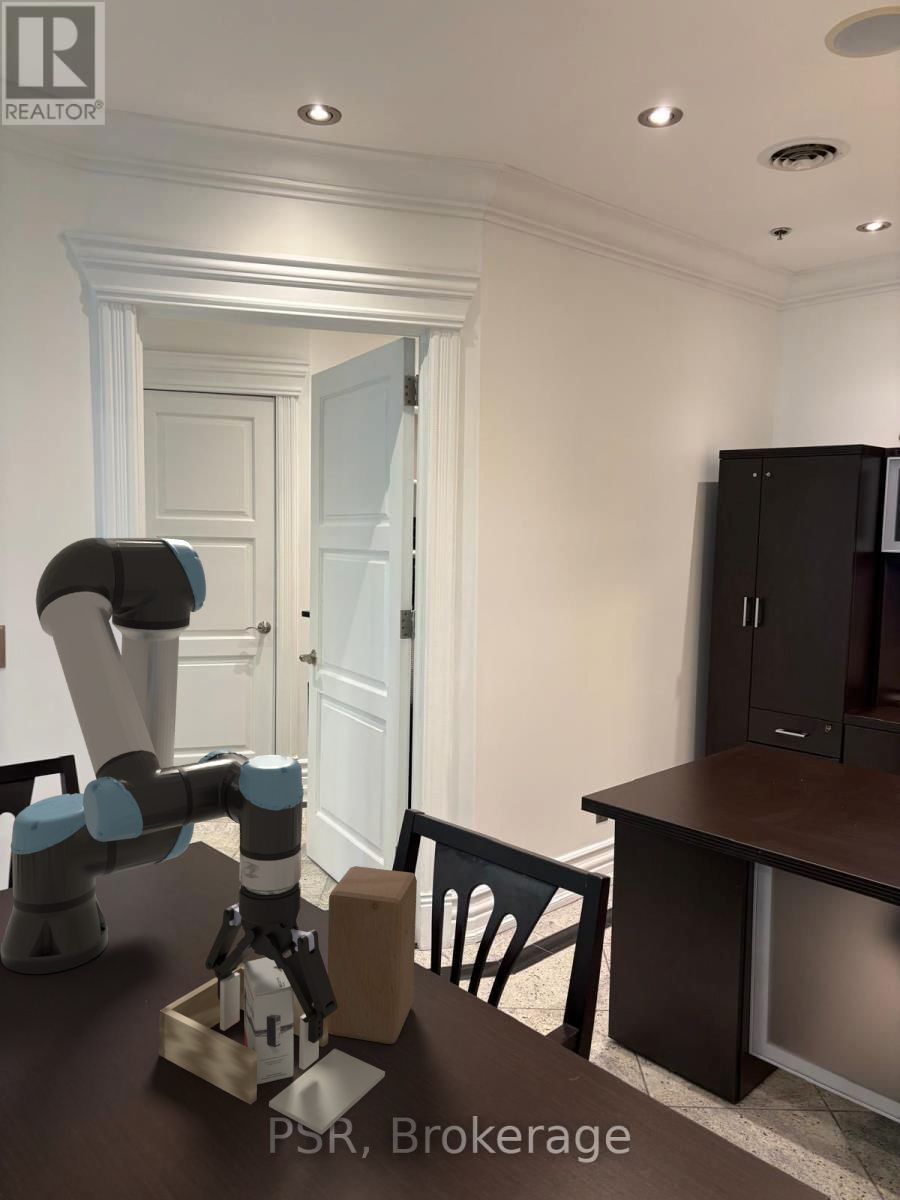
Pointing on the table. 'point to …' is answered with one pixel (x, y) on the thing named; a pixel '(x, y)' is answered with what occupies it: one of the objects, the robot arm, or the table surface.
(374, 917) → the wooden block
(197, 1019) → the crate
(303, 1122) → the mat
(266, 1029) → the ink box
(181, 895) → the table surface
